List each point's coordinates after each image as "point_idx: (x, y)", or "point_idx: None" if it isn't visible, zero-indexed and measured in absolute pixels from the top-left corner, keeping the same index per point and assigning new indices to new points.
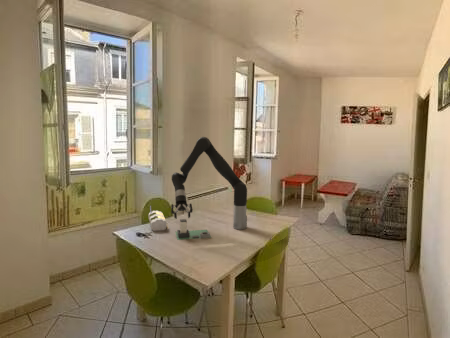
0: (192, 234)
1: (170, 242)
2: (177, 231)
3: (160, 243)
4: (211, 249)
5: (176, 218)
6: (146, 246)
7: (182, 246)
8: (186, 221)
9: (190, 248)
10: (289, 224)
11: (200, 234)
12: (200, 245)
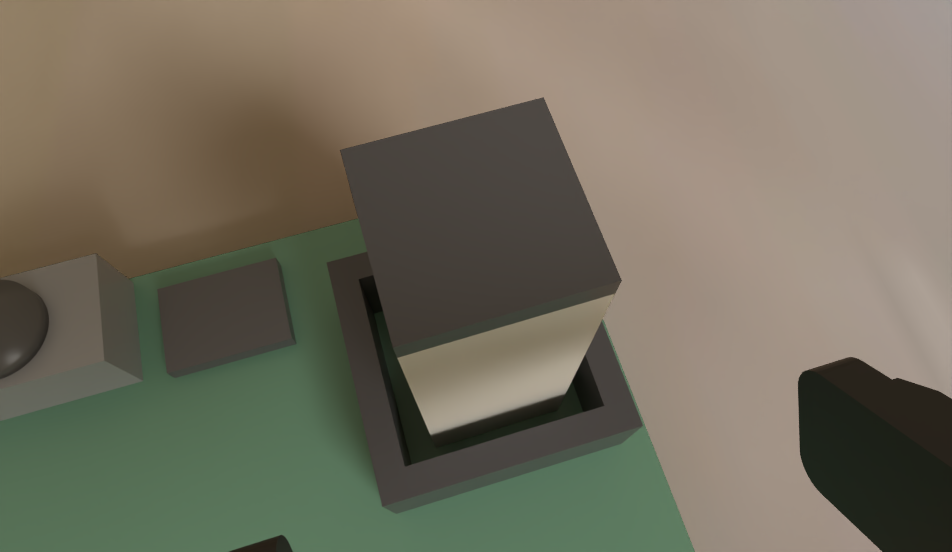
0: (295, 472)
1: (645, 170)
2: (619, 376)
3: (782, 121)
4: (31, 5)
5: (807, 420)
6: (923, 14)
7: (429, 55)
8: (351, 158)
9: (311, 9)
10: None
11: (102, 280)
12: (170, 107)
